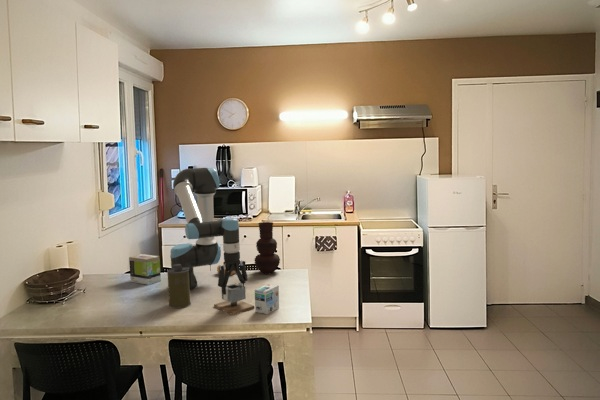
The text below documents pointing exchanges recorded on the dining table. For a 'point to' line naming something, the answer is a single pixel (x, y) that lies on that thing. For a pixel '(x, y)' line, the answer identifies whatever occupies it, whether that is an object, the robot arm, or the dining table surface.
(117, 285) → the dining table surface
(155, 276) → the tea box
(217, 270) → the pastry
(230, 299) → the grey hollow block
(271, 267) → the vase
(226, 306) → the wooden base with peg
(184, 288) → the canister
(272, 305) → the light bulb box
